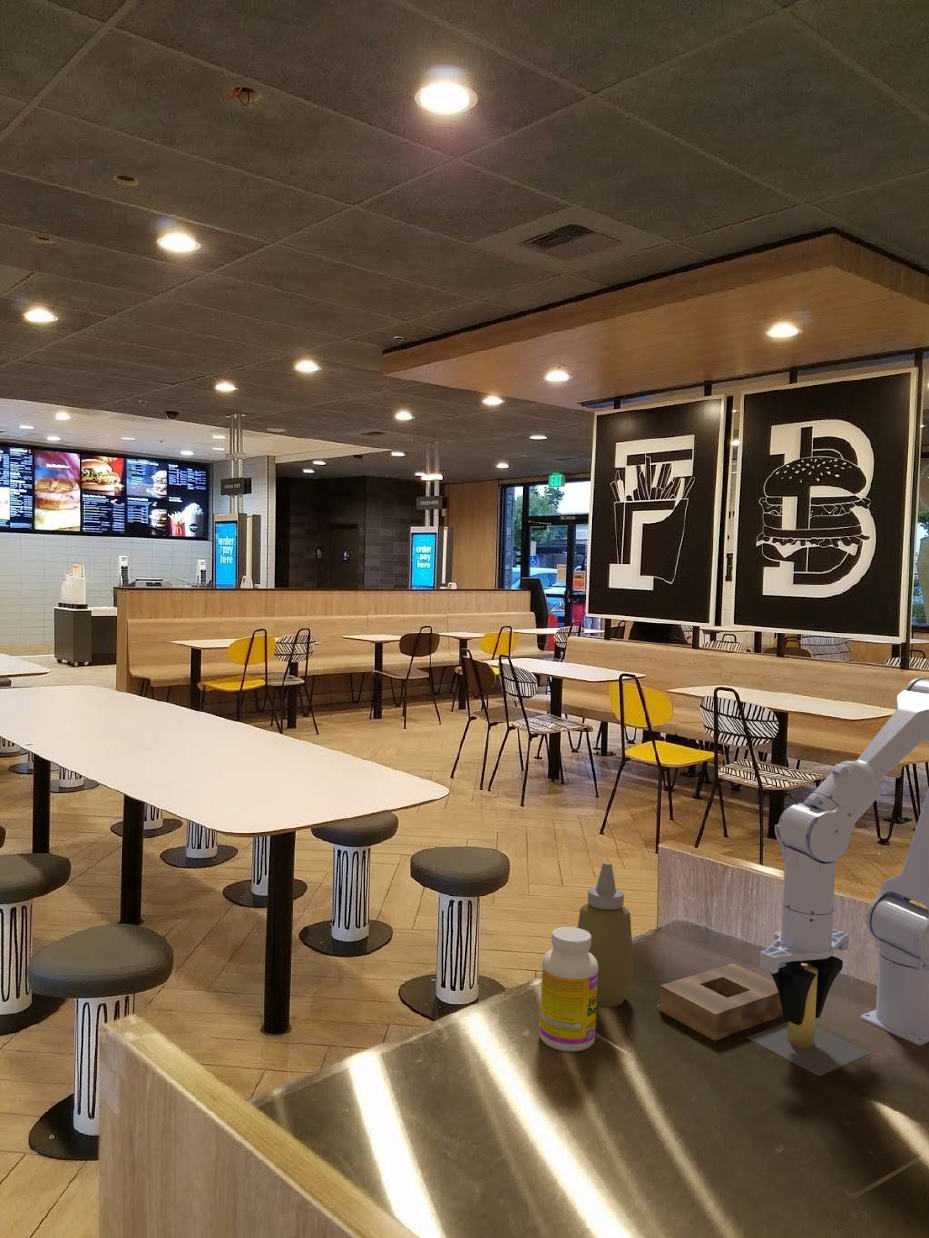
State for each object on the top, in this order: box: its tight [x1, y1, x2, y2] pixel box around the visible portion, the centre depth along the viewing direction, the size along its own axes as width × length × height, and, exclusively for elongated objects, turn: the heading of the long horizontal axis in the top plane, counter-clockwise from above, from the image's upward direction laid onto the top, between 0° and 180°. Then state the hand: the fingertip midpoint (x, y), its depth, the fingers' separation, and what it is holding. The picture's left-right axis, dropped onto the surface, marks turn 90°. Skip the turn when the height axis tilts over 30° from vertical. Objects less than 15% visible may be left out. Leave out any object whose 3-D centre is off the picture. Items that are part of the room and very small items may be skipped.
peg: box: [787, 963, 818, 1048], centre depth 110 cm, size 3×3×9 cm
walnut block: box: [658, 963, 784, 1042], centre depth 118 cm, size 14×9×4 cm, turn 124°
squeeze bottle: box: [577, 862, 635, 1008], centre depth 120 cm, size 8×8×18 cm
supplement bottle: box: [539, 926, 598, 1053], centre depth 109 cm, size 7×7×13 cm
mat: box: [746, 1021, 871, 1077], centre depth 110 cm, size 10×10×1 cm
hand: (801, 1017), depth 110 cm, fingers closed on peg, 3 cm apart
